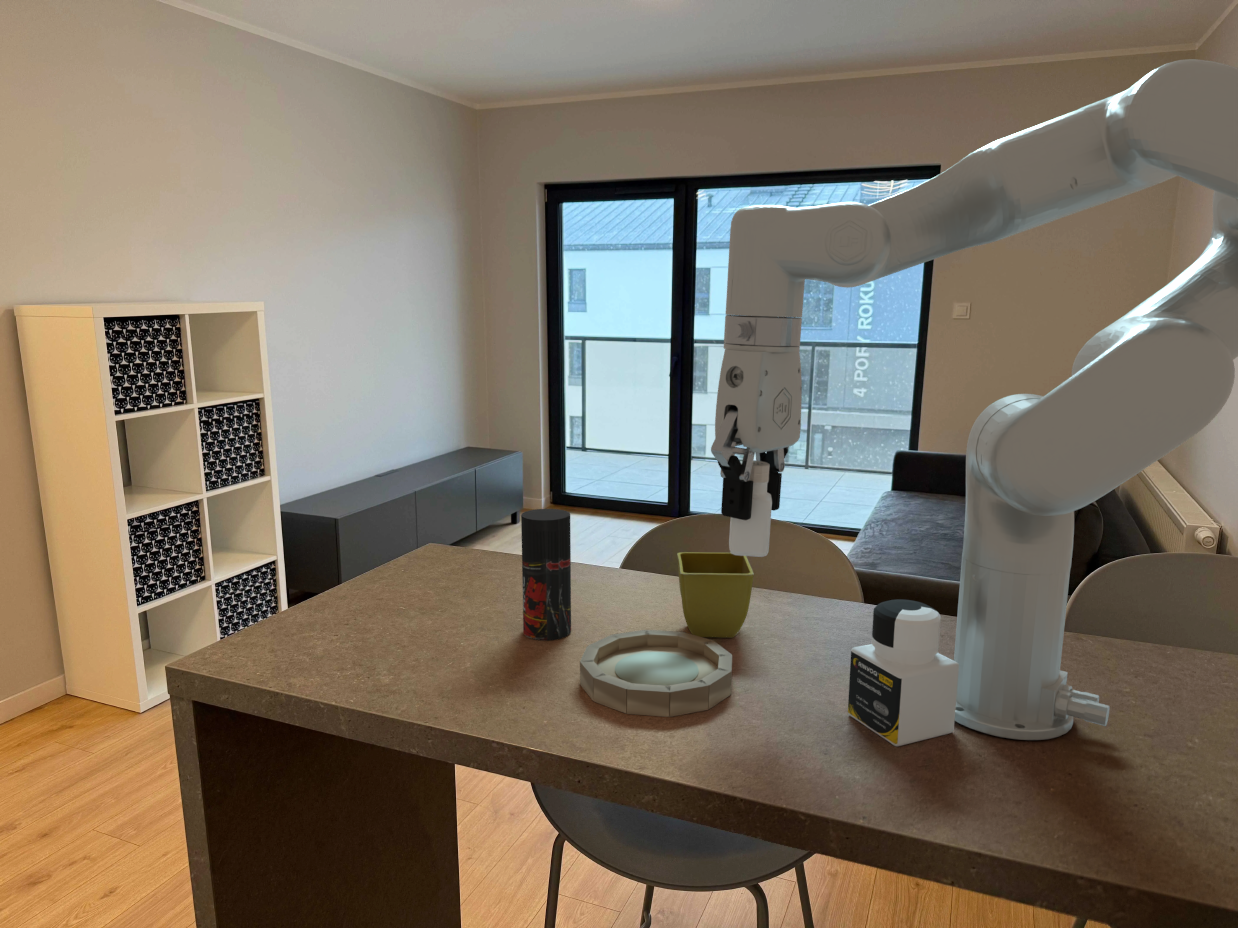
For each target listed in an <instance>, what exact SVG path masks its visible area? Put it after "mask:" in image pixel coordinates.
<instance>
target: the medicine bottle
mask: <svg viewBox="0 0 1238 928" xmlns="http://www.w3.org/2000/svg"><path fill="white" fill-rule="evenodd" d="M872 615H873V616H872V632H871V643H870V644H865V645H859V646H853V647H852V648H851V650H850V665H849V666H850V667H849V685H848V699H847V700H848V701H847V702H848V704H847V714H848V715H849V717H851V718H853V719H854V720H856V721H857V722H859V723H860V724H862V725H864V726H865V727H866V728H867V729H869V730H871V731H872V732H874V733H875V734H876V735H878V736H880V737H881V738H882V739H883V740H884V741H887V742H888V743H890V744H891V745H893V746H894V747H901V746H905V745H908V744H913V743H916V742H920V741H925V740H928V739H932V738H937V737H940V736H945V735H948V734H949V735H950V734H952V733H953V732H954V731H955V723H956V721H955V709H956V696H957V684H958V671H959V664H958V663H957V662H956V661H954V659H951V658H949V657H947V656H946V655H944V654H941V653H939V645H940V634H941V633H940V632H941V622H942V621H941V620H942V616H941V614H940V613H939V611H938V610H936V609H935V608H934V607H932V606H930V605H928V604H926V603H924V602H921V601H916V600H911V599H901V598H899V599H896V598H895V599H891V600H890V599H889V600H886V601H882V602H879V603H878V604H877V605H876V606H875V607H873V613H872Z"/></svg>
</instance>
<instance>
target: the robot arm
mask: <svg viewBox="0 0 1238 928" xmlns="http://www.w3.org/2000/svg"><path fill="white" fill-rule="evenodd" d="M1176 177H1180V178H1183V179H1185V180H1187V181H1189V182H1192V183H1194V184H1196V185H1199V186H1201V187H1204V188H1207V189H1209V190H1212V191H1213V195H1212V227H1211V233H1210V237H1209V240H1208V242H1207V244H1206V246H1205V248H1204V250H1203V252H1202V253H1201V254H1200V255H1199V256H1198V257H1197V259H1196V260H1195V261H1194V262H1193V263H1192V264H1191V265H1189V266H1188V267H1186V268H1185V269H1183V271H1182V272H1181V273H1180V274H1178V275H1176V277H1174V278H1173V279H1172V280H1171V281H1170V282H1168V283H1167V284H1166V285H1165V286H1163V287H1162V288H1161V289H1159V290H1158V291H1156V292H1155V293H1153V294H1152V295H1151V296H1149V297H1148V298H1146V299H1145V300H1144V301H1142V302H1141V303H1140V304H1138V305H1137V306H1135V307H1134V308H1132V309H1131V310H1130V311H1128V312H1127V313H1126V314H1124V315H1123V316H1122V317H1120V318H1118V319H1117V320H1115V321H1113V322H1112V323H1110V324H1109V325H1108V326H1106V327H1105V328H1103V329H1101V330H1099V331H1098V332H1097V333H1095V334H1094V335H1093V336H1092V337H1091V338H1090V339H1089V340H1087V342H1085V344H1084V345H1083V346H1082V347H1081V349H1080V350H1079V351H1078V353H1077V355H1076V356H1075V357H1074V358H1075V359H1074V361H1073V364H1072V367H1071V376H1070V377H1068V378H1067V379H1066V380H1064V381H1062V382H1061V383H1060V384H1059V385H1058V386H1056V387H1055V388H1053V389H1052V390H1051V391H1049V392H1047V394H1045V395H1041V394H1040V395H1039V394H1033V393H1017V394H1011V395H1007V396H1004V397H1002V398H1000V399H997V400H996V401H994V402H993V403H990V404H989V405H988V406H987V407H986V408H984V409H983V410H982V412H980V414H979V415H978V416H977V418H976V419H975V420H974V423H973V424H972V427H971V429H970V432H969V435H968V438H967V445H966V450H965V451H966V452H965V510H964V511H965V513H964V529H963V532H964V533H963V543H962V544H963V545H962V554H961V563H960V564H961V565H960V575H959V576H960V580H959V590H958V603H957V618H956V630H955V639H954V641H955V642H954V652H953V653H954V655H953V660H954V661H956V662H957V663H958V664H959V671H958V684H957V696H956V709H955V723H958V724H959V725H962V726H964V727H966V728H969V729H971V730H974V731H976V732H979V733H983V734H985V735H991V736H995V737H998V738H1006V739H1011V740H1020V741H1021V740H1022V741H1041V740H1050V739H1055V738H1059V737H1061V736H1062V735H1063V736H1064V735H1065V734H1067V733H1068V732H1070V730H1072V727H1073V725H1074V718H1077V719H1080V720H1084V722H1087V723H1093V724H1095V725H1099V726H1103V727H1107V725H1108V722H1109V721H1108V720H1109V715H1110V705H1108V704H1104V703H1100V695H1099V694H1094V693H1091V692H1087V691H1079V690H1076V689H1073V686H1072V685H1069V684H1067V682H1068V681H1067V680H1068V671H1064V670H1061V664H1062V663H1061V662H1062V653H1063V645H1064V644H1063V643H1064V635H1065V634H1064V632H1065V623H1066V616H1067V615H1066V613H1067V605H1068V604H1067V603H1068V596H1069V595H1068V594H1069V584H1070V574H1071V568H1072V558H1073V551H1074V535H1075V511H1078V510H1080V509H1082V508H1084V507H1087V506H1089V505H1090V504H1092V503H1094V502H1095V501H1097V500H1099V499H1100V498H1102V497H1104V496H1106V495H1107V494H1109V493H1110V492H1111V491H1113V490H1114V489H1116V488H1118V487H1119V486H1121V485H1122V484H1124V483H1125V482H1127V481H1128V480H1130V479H1131V478H1133V477H1135V476H1137V474H1139V473H1141V472H1142V471H1144V470H1146V469H1147V468H1148V467H1150V466H1151V465H1153V464H1155V462H1157V461H1159V460H1160V459H1163V457H1165V456H1167V455H1168V454H1169V453H1171V452H1172V451H1174V450H1175V449H1177V448H1178V447H1180V446H1181V445H1182V444H1184V443H1186V442H1188V440H1190V439H1191V438H1193V437H1194V436H1195V435H1197V434H1198V433H1200V432H1201V431H1202V430H1203V429H1204V428H1206V427H1207V426H1208V425H1209V424H1210V423H1211V422H1212V421H1213V420H1214V419H1215V418H1216V417H1217V415H1218V414H1219V413H1220V412H1221V411H1222V409H1223V408H1224V406H1225V405H1226V404H1227V401H1228V399H1229V398H1230V396H1231V393H1232V390H1233V388H1234V387H1233V386H1234V383H1235V378H1236V377H1235V375H1236V374H1235V373H1236V371H1235V363H1234V360H1235V359H1236V358H1238V67H1236V66H1233V65H1229V64H1226V63H1222V62H1217V61H1212V60H1203V59H1195V58H1192V59H1191V58H1190V59H1189V58H1188V59H1178V60H1174V61H1171V62H1167V63H1165V64H1162V65H1160V66H1159V67H1156V68H1154V69H1153V70H1151V71H1150V72H1148V73H1147V74H1145V75H1144V76H1143V77H1142V78H1140V79H1138V81H1136V82H1135V83H1134V84H1133V85H1131V86H1130V87H1129V88H1127V89H1126V90H1123V91H1121V92H1119V93H1116V94H1113V95H1111V96H1108V97H1106V98H1104V99H1100V100H1097V101H1095V102H1093V103H1090V104H1087V105H1085V106H1082V107H1079V108H1078V109H1075V110H1073V111H1071V112H1068V113H1066V114H1062V115H1061V116H1057V117H1054V118H1053V119H1050V120H1047V121H1044V122H1042V123H1039V124H1037V125H1034V126H1031V127H1028V128H1025V129H1022V130H1021V131H1018V132H1017V131H1016V133H1012V134H1010V135H1007V136H1005V137H1001V138H999V139H996V140H993V141H992V142H990V143H988V144H986V145H984V146H982V147H980V148H978V149H976V150H974V151H973V152H970V153H969V154H968V155H966V156H965V157H963V158H962V159H960V160H958V162H956V163H955V164H953V165H952V166H951V167H949V168H947V169H945V171H943V172H941V173H939V174H937V175H936V176H934V177H932V178H930V179H928V180H926V181H923V182H922V183H920V184H917V185H916V186H913V187H910V188H908V189H906V190H904V191H901V192H899V193H896V194H894V195H892V196H888V197H886V198H884V199H880V200H878V201H877V202H876V201H875V202H873V203H871V204H866V203H863V202H857V201H843V202H836V203H828V204H822V205H814V206H804V207H794V206H787V205H779V204H778V205H776V204H772V205H771V204H759V205H749V206H744V207H742V208H739V209H738V210H737V211H735V213H734V214H733V216H732V218H731V220H730V221H731V222H730V230H729V232H730V233H729V247H728V250H729V251H728V263H727V264H728V265H727V285H726V300H725V318H724V336H723V349H724V353H723V358H722V362H721V368H720V373H719V378H718V387H717V396H716V404H715V405H716V406H715V421H714V437H715V438H714V440H713V443H712V445H711V447H710V452H711V454H712V455H713V457H714V458H715V459H716V461H717V464H718V466H719V468H720V477H721V478H722V489H721V490H722V491H721V493H722V494H721V508H720V509H721V510H720V513H721V515H722V516H724V517H728V518H731V517H732V518H737V519H741V520H748V519H750V518H751V510H752V495H753V481H750V480H749V478H750V474H751V469H752V464H753V460H754V459H755V460H754V461H762V462H767V463H768V464H770V467H769V480H768V481H769V482H768V483H767V493H770V494H771V497H772V509H771V511H777V510H779V509H780V506H781V504H780V503H781V493H782V490H781V489H782V479H783V478H782V477H783V476H782V475H783V473H784V470H785V467H786V465H785V458H786V456H787V454H788V452H789V448H790V447H791V446H794V445H795V444H796V443H798V441H799V439H800V436H801V426H802V425H801V424H802V396H803V395H802V386H803V385H802V380H803V379H802V365H801V364H802V363H801V362H802V361H801V355H800V352H801V351H800V347H801V346H800V345H801V338H802V337H801V335H802V322H803V308H804V294H805V281H806V280H809V281H818V282H824V283H828V284H830V285H832V286H835V287H837V288H838V287H839V288H846V289H847V288H855V287H859V286H861V285H865V284H868V283H871V282H874V281H876V280H880V279H881V278H885V277H887V276H890V275H892V274H895V273H898V272H901V271H904V270H907V269H910V268H912V267H915V266H918V265H921V264H923V263H924V264H925V263H927V262H929V261H933V260H935V259H938V258H942V257H944V256H947V255H950V254H954V253H956V252H959V251H963V250H966V249H969V248H973V247H978V246H983V245H988V244H992V243H995V242H997V241H1001V240H1003V239H1006V238H1009V237H1012V236H1015V235H1017V234H1020V233H1023V232H1026V231H1029V230H1032V229H1035V228H1038V227H1040V226H1044V225H1047V224H1049V223H1052V222H1054V221H1056V220H1057V221H1058V220H1059V219H1063V218H1065V217H1068V216H1071V215H1074V214H1077V213H1079V212H1082V211H1085V210H1088V209H1092V208H1094V207H1097V206H1100V205H1103V204H1106V203H1109V202H1111V201H1112V202H1113V201H1114V200H1117V199H1120V198H1123V197H1125V196H1128V195H1131V194H1134V193H1137V192H1141V191H1142V190H1146V189H1149V188H1151V187H1154V186H1156V185H1159V184H1161V183H1164V182H1166V181H1169V180H1171V179H1173V178H1176ZM738 446H743V447H738ZM737 455H739V456H743V457H742V460H740V459H739V457H738V456H737ZM740 461H742V465H741V463H740Z"/></svg>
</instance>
